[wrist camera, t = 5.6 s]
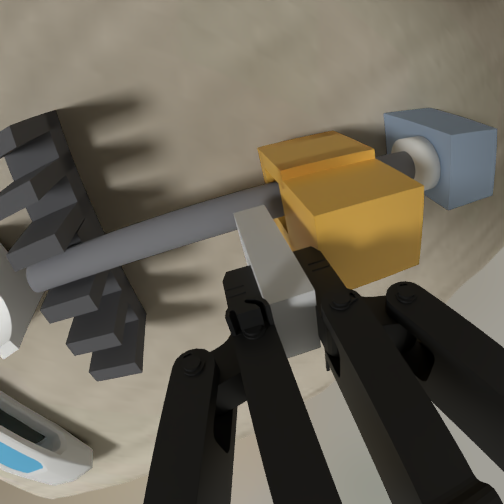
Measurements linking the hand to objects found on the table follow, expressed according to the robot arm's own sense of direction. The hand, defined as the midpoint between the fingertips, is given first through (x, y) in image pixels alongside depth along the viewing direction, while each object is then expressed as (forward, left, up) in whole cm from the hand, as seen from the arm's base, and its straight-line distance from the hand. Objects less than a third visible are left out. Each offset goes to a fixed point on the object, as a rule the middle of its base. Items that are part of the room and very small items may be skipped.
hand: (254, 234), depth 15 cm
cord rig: (0, +1, -8) cm, 8 cm away
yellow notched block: (0, +4, -5) cm, 7 cm away
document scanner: (+22, -45, -8) cm, 51 cm away
